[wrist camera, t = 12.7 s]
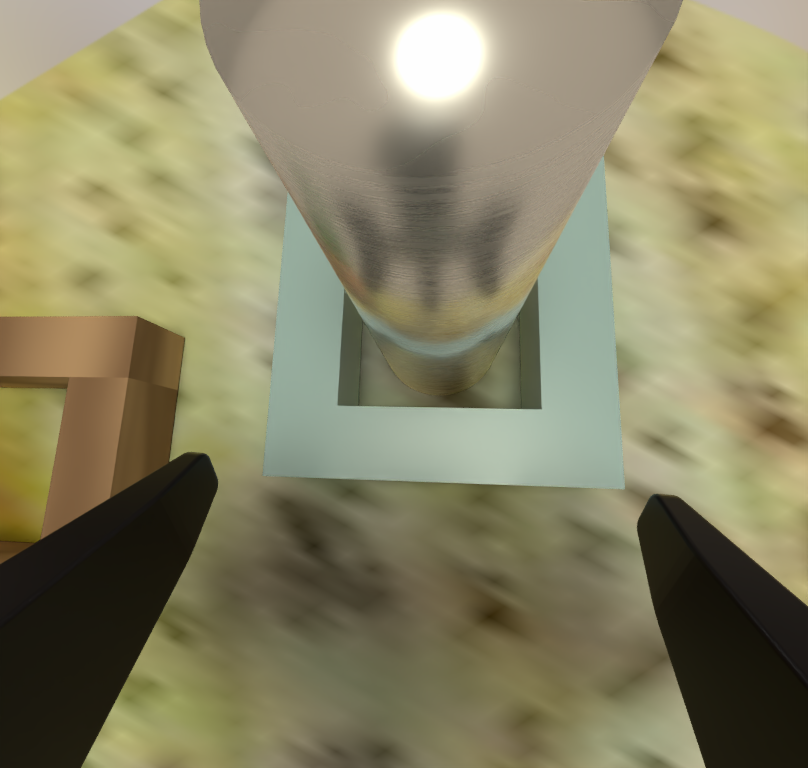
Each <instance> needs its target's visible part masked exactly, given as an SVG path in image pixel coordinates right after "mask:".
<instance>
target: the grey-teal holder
mask: <svg viewBox="0 0 808 768" xmlns="http://www.w3.org/2000/svg"><path fill="white" fill-rule="evenodd" d="M519 319H520V367H521V409H487V408H434V407H381V406H358V401H359V381H360V361H361V341H362V321H363V319H362V318H361V316H360V314H359V313H358V311H357V309H356V307H355V306H354V304H353V302H352V301H351V299H350V297H349V295H348V294H347V292H346V290H345V289H344V287H343V285H342V283H341V282H340V280H339V278H338V277H337V275H336V273H335V271H334V270H333V268H332V266H331V265H330V263H329V261H328V259H327V258H326V256H325V254H324V253H323V251H322V249H321V248H320V246H319V244H318V242H317V241H316V239H315V237H314V236H313V234H312V232H311V230H310V229H309V227H308V225H307V224H306V222H305V220H304V218H303V217H302V215H301V213H300V212H299V210H298V208H297V206H296V205H295V203H294V201H293V200H292V198H291V196H290V194H289V193H288V196H287V207H286V218H285V230H284V241H283V252H282V263H281V274H280V286H279V297H278V308H277V319H276V331H275V342H274V353H273V364H272V375H271V387H270V398H269V409H268V420H267V432H266V443H265V454H264V465H263V476H279V477H306V478H333V479H361V480H388V481H415V482H442V483H469V484H496V485H523V486H551V487H578V488H605V489H625V483H624V467H623V451H622V436H621V420H620V404H619V389H618V373H617V357H616V342H615V326H614V310H613V294H612V279H611V263H610V247H609V232H608V216H607V200H606V184H605V169H604V155H603V157H602V159H601V161H600V162H599V164H598V166H597V168H596V170H595V172H594V174H593V175H592V177H591V179H590V181H589V183H588V185H587V187H586V188H585V190H584V192H583V194H582V196H581V198H580V200H579V202H578V203H577V205H576V207H575V209H574V211H573V213H572V215H571V216H570V218H569V220H568V222H567V224H566V226H565V228H564V229H563V231H562V233H561V235H560V237H559V239H558V241H557V243H556V244H555V246H554V248H553V250H552V252H551V254H550V256H549V257H548V259H547V261H546V263H545V265H544V267H543V269H542V271H541V272H540V274H539V276H538V278H537V280H536V282H535V284H534V285H533V287H532V289H531V291H530V293H529V295H528V297H527V298H526V300H525V302H524V304H523V306H522V308H521V310H520V312H519Z"/></svg>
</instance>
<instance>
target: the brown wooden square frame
mask: <svg viewBox="0 0 808 768" xmlns="http://www.w3.org/2000/svg"><path fill="white" fill-rule="evenodd" d="M184 339H185V338H184V337H182V336H179V335H177V334H175V333H173V332H171V331H168V330H166V329H164V328H162V327H160V326H158V325H155V324H153V323H151V322H149V321H147V320H144V319H142V318H140V317H138V316H85V317H0V387H11V388H67V393H66V399H65V405H64V410H63V416H62V422H61V427H60V433H59V438H58V444H57V450H56V455H55V461H54V466H53V472H52V478H51V483H50V489H49V495H48V500H47V506H46V511H45V517H44V523H43V528H42V534H41V539H42V538H44V537H46V536H47V535H49V534H51V533H52V532H54V531H56V530H57V529H59V528H61V527H62V526H64V525H66V524H67V523H69V522H71V521H72V520H74V519H76V518H77V517H79V516H81V515H82V514H84V513H86V512H87V511H89V510H91V509H92V508H94V507H96V506H97V505H99V504H101V503H102V502H104V501H106V500H107V499H109V498H111V497H112V496H114V495H116V494H117V493H119V492H121V491H122V490H124V489H126V488H127V487H129V486H131V485H132V484H134V483H136V482H137V481H139V480H141V479H142V478H144V477H146V476H147V475H149V474H151V473H152V472H154V471H156V470H157V469H159V468H161V467H162V466H164V465H166V464H167V463H169V455H170V447H171V440H172V432H173V424H174V416H175V409H176V401H177V393H178V385H179V378H180V370H181V362H182V355H183V347H184ZM41 539H40V540H41ZM32 544H34V543H25V542H7V541H0V564H1V563H2V562H4V561H6V560H7V559H9V558H11V557H12V556H14V555H16V554H17V553H19V552H21V551H22V550H24V549H26V548H27V547H29V546H31V545H32Z"/></svg>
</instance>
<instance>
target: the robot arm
mask: <svg viewBox="0 0 808 768" xmlns="http://www.w3.org/2000/svg"><path fill="white" fill-rule="evenodd" d="M217 488H218V479H217V476H216V473H215V471H214V468H213V465H212V463H211V460H210V458H209V456H208V455H207V454H205V453H196V452H187V453H184V454H182V455H181V456H179V457H177V458H176V459H174V460H172V461H171V462H169V463H167V464H166V465H164V466H162V467H161V468H159V469H157V470H156V471H154V472H152V473H151V474H149V475H147V476H146V477H144V478H142V479H141V480H139V481H137V482H136V483H134V484H132V485H131V486H129V487H127V488H126V489H124V490H122V491H121V492H119V493H117V494H116V495H114V496H112V497H111V498H109V499H107V500H106V501H104V502H102V503H101V504H99V505H97V506H96V507H94V508H92V509H91V510H89V511H87V512H86V513H84V514H82V515H81V516H79V517H77V518H76V519H74V520H72V521H71V522H69V523H67V524H66V525H64V526H62V527H61V528H59V529H57V530H56V531H54V532H52V533H51V534H49V535H47V536H46V537H44V538H42V539H41V540H39V541H37V542H36V543H34V544H32V545H31V546H29V547H27V548H26V549H24V550H22V551H21V552H19V553H17V554H16V555H14V556H12V557H11V558H9V559H7V560H6V561H4V562H2V563H1V564H0V768H81V767H82V765H83V763H84V761H85V759H86V757H87V755H88V753H89V751H90V749H91V747H92V745H93V744H94V742H95V740H96V738H97V736H98V734H99V732H100V730H101V728H102V726H103V724H104V722H105V720H106V719H107V717H108V715H109V713H110V711H111V709H112V707H113V705H114V703H115V701H116V699H117V697H118V695H119V693H120V692H121V690H122V688H123V686H124V684H125V682H126V680H127V678H128V676H129V674H130V672H131V670H132V668H133V666H134V665H135V663H136V661H137V659H138V657H139V655H140V653H141V651H142V649H143V647H144V645H145V643H146V641H147V640H148V638H149V636H150V634H151V632H152V630H153V628H154V626H155V624H156V622H157V620H158V618H159V616H160V614H161V613H162V611H163V609H164V607H165V605H166V603H167V601H168V599H169V597H170V595H171V593H172V591H173V589H174V587H175V586H176V584H177V582H178V580H179V578H180V576H181V574H182V572H183V570H184V568H185V566H186V564H187V562H188V560H189V558H190V556H191V554H192V551H193V549H194V547H195V544H196V542H197V539H198V537H199V534H200V532H201V529H202V527H203V524H204V522H205V519H206V517H207V514H208V512H209V509H210V507H211V504H212V502H213V499H214V497H215V494H216V492H217ZM637 532H638V537H639V542H640V546H641V551H642V556H643V560H644V565H645V570H646V574H647V579H648V584H649V588H650V593H651V598H652V602H653V606H654V610H655V614H656V617H657V620H658V624H659V627H660V630H661V633H662V636H663V639H664V642H665V645H666V648H667V651H668V654H669V657H670V660H671V663H672V666H673V669H674V672H675V675H676V678H677V682H678V685H679V688H680V691H681V694H682V697H683V700H684V703H685V706H686V709H687V712H688V715H689V718H690V721H691V724H692V727H693V730H694V733H695V736H696V739H697V742H698V745H699V748H700V751H701V754H702V757H703V760H704V763H705V767H706V768H808V606H807V605H806V604H804V603H803V602H802V601H801V600H800V599H799V598H797V597H796V596H795V595H794V594H793V593H792V592H790V591H789V590H788V589H787V588H786V587H784V586H783V585H782V584H781V583H780V582H779V581H777V580H776V579H775V578H774V577H773V576H772V575H770V574H769V573H768V572H767V571H766V570H764V569H763V568H762V567H761V566H760V565H759V564H757V563H756V562H755V561H754V560H753V559H752V558H750V557H749V556H748V555H747V554H746V553H744V552H743V551H742V550H741V549H740V548H739V547H737V546H736V545H735V544H734V543H733V542H731V541H730V540H729V539H728V538H727V537H726V536H724V535H723V534H722V533H721V532H720V531H719V530H717V529H716V528H715V527H714V526H713V525H711V524H710V523H709V522H708V521H707V520H706V519H704V518H703V517H702V516H701V515H700V514H699V513H697V512H696V511H695V510H694V509H693V508H691V507H690V506H689V505H688V504H687V503H686V502H684V501H683V500H682V499H681V498H679V497H677V496H674V495H665V494H653V495H652V496H650V498H649V500H648V502H647V504H646V506H645V508H644V509H643V511H642V513H641V515H640V517H639V519H638V523H637Z"/></svg>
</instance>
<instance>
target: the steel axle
mask: <svg viewBox="0 0 808 768" xmlns="http://www.w3.org/2000/svg"><path fill="white" fill-rule="evenodd" d="M682 1H683V0H200V16H201V24H202V28H203V33H204V37H205V42H206V45H207V48H208V50H209V53H210V55H211V58H212V60H213V63H214V65H215V67H216V69H217V71H218V73H219V75H220V76H221V78H222V80H223V81H224V83H225V85H226V87H227V88H228V90H229V92H230V93H231V95H232V97H233V99H234V100H235V102H236V104H237V105H238V107H239V109H240V110H241V112H242V114H243V116H244V117H245V119H246V121H247V122H248V124H249V126H250V128H251V129H252V131H253V133H254V134H255V136H256V138H257V140H258V141H259V143H260V145H261V146H262V148H263V150H264V152H265V153H266V155H267V157H268V158H269V160H270V162H271V164H272V165H273V167H274V169H275V170H276V172H277V174H278V176H279V177H280V179H281V181H282V182H283V184H284V186H285V188H286V189H287V191H288V193H289V194H290V196H291V198H292V200H293V201H294V203H295V205H296V206H297V208H298V210H299V212H300V213H301V215H302V217H303V218H304V220H305V222H306V224H307V225H308V227H309V229H310V230H311V232H312V234H313V236H314V237H315V239H316V241H317V242H318V244H319V246H320V248H321V249H322V251H323V253H324V254H325V256H326V258H327V259H328V261H329V263H330V265H331V266H332V268H333V270H334V271H335V273H336V275H337V277H338V278H339V280H340V282H341V283H342V285H343V287H344V289H345V290H346V292H347V294H348V295H349V297H350V299H351V301H352V302H353V304H354V306H355V307H356V309H357V311H358V313H359V314H360V316H361V318H362V319H363V321H364V323H365V325H366V326H367V328H368V330H369V331H370V333H371V335H372V337H373V338H374V340H375V342H376V343H377V345H378V347H379V349H380V350H381V352H382V354H383V355H384V357H385V359H386V361H387V362H388V364H389V366H390V367H391V369H392V371H393V372H394V373H395V375H396V376H397V377H398V378H399V379H400V380H401V381H402V382H403V383H404V384H406V385H407V386H408V387H410V388H412V389H414V390H416V391H418V392H421V393H424V394H428V395H436V396H443V395H451V394H455V393H459V392H461V391H464V390H466V389H468V388H469V387H471V386H473V385H474V384H475V383H477V382H478V381H479V380H480V379H481V378H482V377H483V376H484V375H485V373H486V372H487V371H488V369H489V367H490V366H491V364H492V362H493V360H494V358H495V356H496V354H497V353H498V351H499V349H500V347H501V345H502V343H503V341H504V340H505V338H506V336H507V334H508V332H509V330H510V328H511V326H512V325H513V323H514V321H515V319H516V317H517V315H518V313H519V312H520V310H521V308H522V306H523V304H524V302H525V300H526V298H527V297H528V295H529V293H530V291H531V289H532V287H533V285H534V284H535V282H536V280H537V278H538V276H539V274H540V272H541V271H542V269H543V267H544V265H545V263H546V261H547V259H548V257H549V256H550V254H551V252H552V250H553V248H554V246H555V244H556V243H557V241H558V239H559V237H560V235H561V233H562V231H563V229H564V228H565V226H566V224H567V222H568V220H569V218H570V216H571V215H572V213H573V211H574V209H575V207H576V205H577V203H578V202H579V200H580V198H581V196H582V194H583V192H584V190H585V188H586V187H587V185H588V183H589V181H590V179H591V177H592V175H593V174H594V172H595V170H596V168H597V166H598V164H599V162H600V161H601V159H602V157H603V155H604V153H605V151H606V149H607V147H608V146H609V144H610V142H611V140H612V138H613V136H614V134H615V133H616V131H617V129H618V127H619V125H620V123H621V121H622V119H623V118H624V116H625V114H626V112H627V110H628V108H629V106H630V105H631V103H632V101H633V99H634V97H635V95H636V93H637V92H638V90H639V88H640V86H641V84H642V82H643V80H644V78H645V77H646V75H647V73H648V71H649V69H650V67H651V65H652V64H653V62H654V60H655V58H656V56H657V54H658V52H659V51H660V49H661V47H662V45H663V43H664V41H665V39H666V37H667V36H668V34H669V32H670V30H671V28H672V26H673V24H674V22H675V21H676V18H677V16H678V13H679V10H680V7H681V4H682Z"/></svg>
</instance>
